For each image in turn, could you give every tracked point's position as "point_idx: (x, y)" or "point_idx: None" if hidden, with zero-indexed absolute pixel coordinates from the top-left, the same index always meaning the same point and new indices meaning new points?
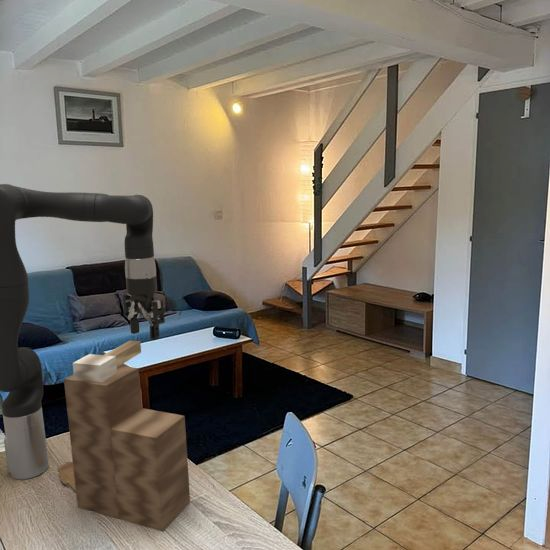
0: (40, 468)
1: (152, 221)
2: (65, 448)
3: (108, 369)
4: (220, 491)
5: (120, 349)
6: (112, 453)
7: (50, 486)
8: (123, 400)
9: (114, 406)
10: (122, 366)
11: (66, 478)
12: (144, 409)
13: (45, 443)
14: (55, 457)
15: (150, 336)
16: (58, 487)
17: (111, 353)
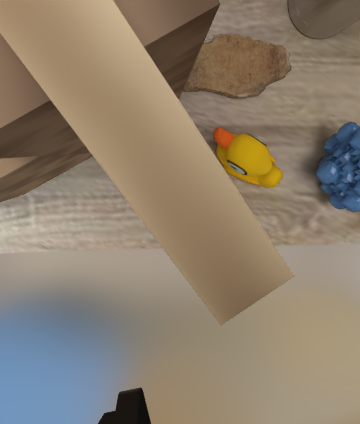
0: (294, 9)
1: None
2: (351, 89)
3: None
4: (22, 247)
5: (130, 130)
6: None
7: (235, 15)
8: None
9: None
10: (35, 98)
11: (229, 44)
12: (21, 159)
13: (332, 12)
14: (331, 60)
15: (134, 405)
16: (221, 27)
17: (79, 25)
